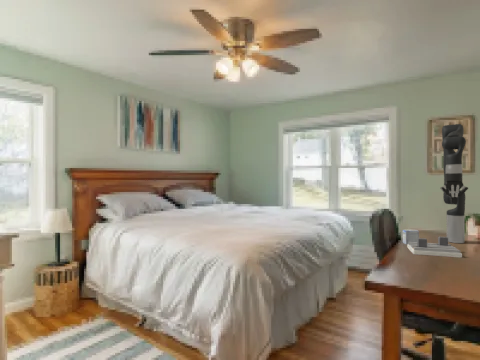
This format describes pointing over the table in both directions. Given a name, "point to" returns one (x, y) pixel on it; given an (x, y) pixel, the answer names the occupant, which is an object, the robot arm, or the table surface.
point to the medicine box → (410, 236)
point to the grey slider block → (422, 242)
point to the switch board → (434, 250)
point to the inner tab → (442, 241)
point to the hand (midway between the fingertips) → (453, 203)
